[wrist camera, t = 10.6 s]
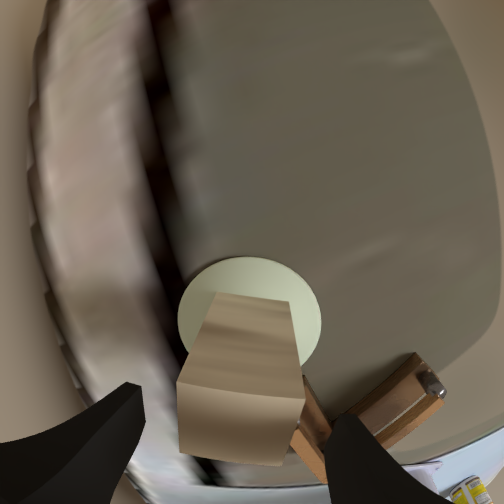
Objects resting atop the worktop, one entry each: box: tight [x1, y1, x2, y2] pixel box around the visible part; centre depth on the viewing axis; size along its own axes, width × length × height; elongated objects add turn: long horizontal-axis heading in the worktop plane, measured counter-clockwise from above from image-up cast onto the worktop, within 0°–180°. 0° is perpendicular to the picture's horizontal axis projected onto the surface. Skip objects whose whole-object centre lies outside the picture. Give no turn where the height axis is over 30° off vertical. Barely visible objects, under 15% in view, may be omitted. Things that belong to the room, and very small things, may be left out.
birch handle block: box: [177, 292, 306, 466], centre depth 12 cm, size 4×4×8 cm
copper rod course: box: [290, 352, 447, 484], centre depth 16 cm, size 12×12×4 cm
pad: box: [178, 256, 321, 366], centre depth 16 cm, size 8×8×1 cm
